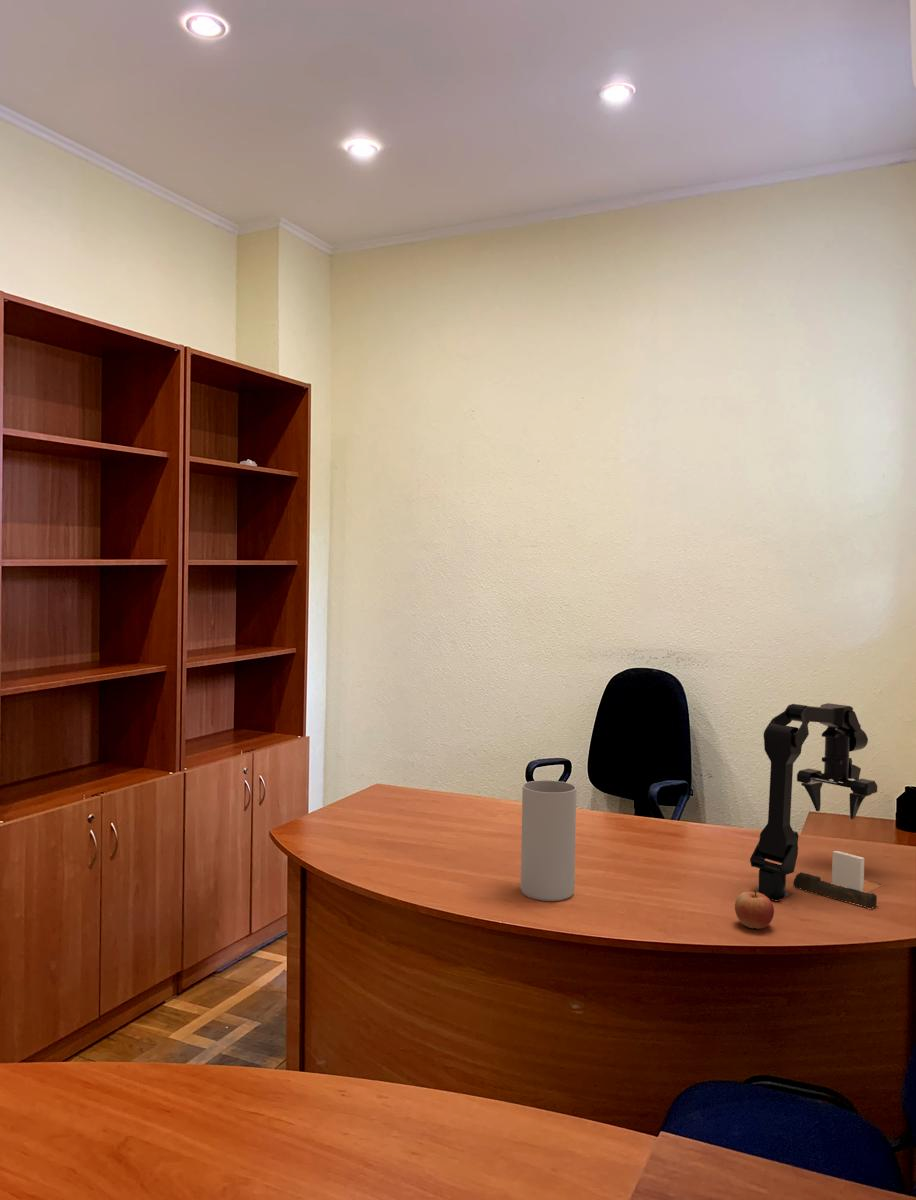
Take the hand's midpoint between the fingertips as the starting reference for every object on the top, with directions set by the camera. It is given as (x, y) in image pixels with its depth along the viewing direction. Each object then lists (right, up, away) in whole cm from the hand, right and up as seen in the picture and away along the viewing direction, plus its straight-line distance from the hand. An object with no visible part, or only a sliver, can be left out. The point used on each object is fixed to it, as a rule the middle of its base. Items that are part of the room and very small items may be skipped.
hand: (835, 815), depth 229 cm
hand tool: (-9, -16, -19) cm, 26 cm away
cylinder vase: (-75, -14, -18) cm, 78 cm away
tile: (-2, -14, -13) cm, 19 cm away
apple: (-32, -15, -36) cm, 51 cm away
